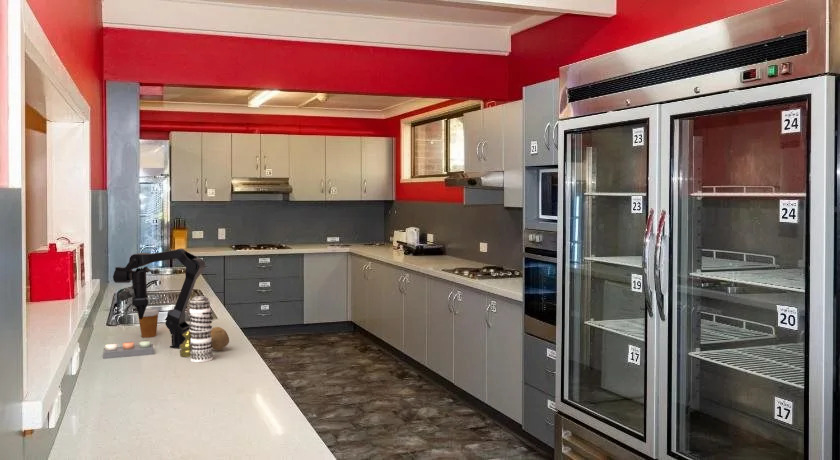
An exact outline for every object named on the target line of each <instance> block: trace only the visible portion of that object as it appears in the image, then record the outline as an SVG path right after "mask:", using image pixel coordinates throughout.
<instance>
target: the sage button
mask: <svg viewBox="0 0 840 460" xmlns="http://www.w3.org/2000/svg"><path fill="white" fill-rule="evenodd" d="M151 344H152V341H151V340H141V341H139V345H140V347H141V348H146V347H150V346H151Z"/></svg>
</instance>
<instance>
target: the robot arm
mask: <svg viewBox="0 0 840 460" xmlns="http://www.w3.org/2000/svg"><path fill="white" fill-rule="evenodd" d="M175 259H177V261H179V262H180V263H181V264H182V265H183V266H184V267H185V271H184V273H185V278H184V281H183V284H182V286H181V290H180V292H179V295H178V298H177V300H176V303H175V306H174V308H173V309H171V310H168V311H167V314H166V317H165V319H164V321H165V323H164V324H165V327H166V328H167V329H168V331H169V333H170V335H171V345H170V346H169V348H173V349H180V344H182V343H183V342H184V341H185V337H184V336H183V335H182V334H183V333H184V332H186V331H190V329H189V327H190V325H189V322H187V321H185V320H186V309H187V306H188V303H189V301H190V297H191V295H192V292H193V289H194V287H195V284H196V281H197V279H199V277H200V276H201V274H202V272H203V271H204V269H205V267H206V263H205V260H203V259H204V258H201V257H197V256H196V255H194V254H193V253H191V252H188V251H187V250H185V249H184V248H177V249H174V250H173V249H172V250H166V251H161V252H156V253H155V252H154V253H149V252H138V253H135V254H131V255H130V256H129V260H128V263H126V265H125V267H122V266H115V269H114V272H113V275H112V278H113V279H112V280H113V283H115V284H129V283H130V282H131V288H130V289H127V290H122V291H121V292H119V293H118V295H117V296H118V297H119V299H120V302H121V303H122V302H124V301H126V300H128V299H132V301H131V303H132V304H131V305H132V306H134V307H135V308H136V312H137V313H138V315H139V318H138V320H139V319H142V318H143V315H144V313H145V310H146V309H147V307H148V305H149V298H148V289H147V286H148V285H147V273H150V272H151V271H152V270H151V269H150V268H149V267H148V265H150V264H153V263H156V262H162V261H169V260H175ZM141 267H143V268H141ZM134 269H135V270H134ZM138 315H137V316H138Z"/></svg>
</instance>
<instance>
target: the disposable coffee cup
mask: <svg viewBox="0 0 840 460" xmlns="http://www.w3.org/2000/svg"><path fill="white" fill-rule="evenodd" d="M159 313H160V312H159V309H157V308H146V310H145V313H144V315H143V318H142V319H139V315H138V312H137V313H136V315H137V317H138V323H139V329H140V334H141V338H149V339H150V338H154V337H157V333H158V332H157V330H158V319H159V315H160V314H159Z"/></svg>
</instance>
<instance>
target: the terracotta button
mask: <svg viewBox="0 0 840 460" xmlns="http://www.w3.org/2000/svg"><path fill="white" fill-rule="evenodd" d="M134 346H135V342H134V341H125V342H123V343H122V347H123V349H132V348H134Z"/></svg>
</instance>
